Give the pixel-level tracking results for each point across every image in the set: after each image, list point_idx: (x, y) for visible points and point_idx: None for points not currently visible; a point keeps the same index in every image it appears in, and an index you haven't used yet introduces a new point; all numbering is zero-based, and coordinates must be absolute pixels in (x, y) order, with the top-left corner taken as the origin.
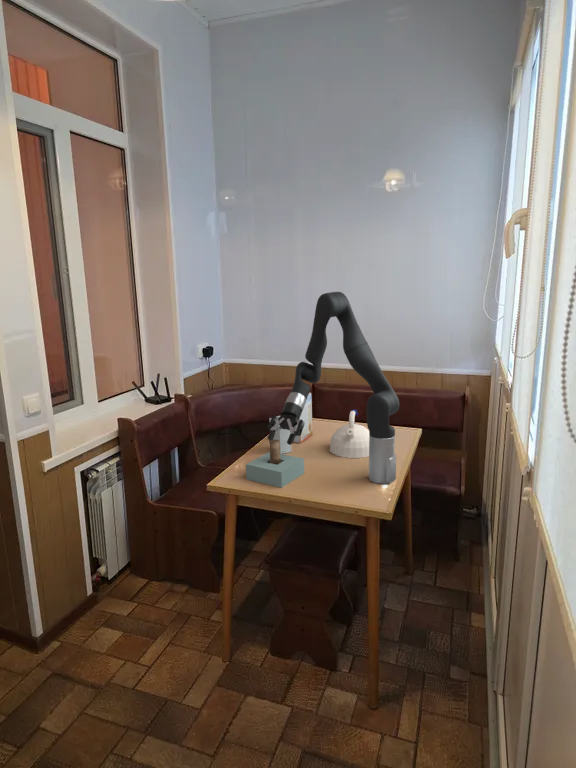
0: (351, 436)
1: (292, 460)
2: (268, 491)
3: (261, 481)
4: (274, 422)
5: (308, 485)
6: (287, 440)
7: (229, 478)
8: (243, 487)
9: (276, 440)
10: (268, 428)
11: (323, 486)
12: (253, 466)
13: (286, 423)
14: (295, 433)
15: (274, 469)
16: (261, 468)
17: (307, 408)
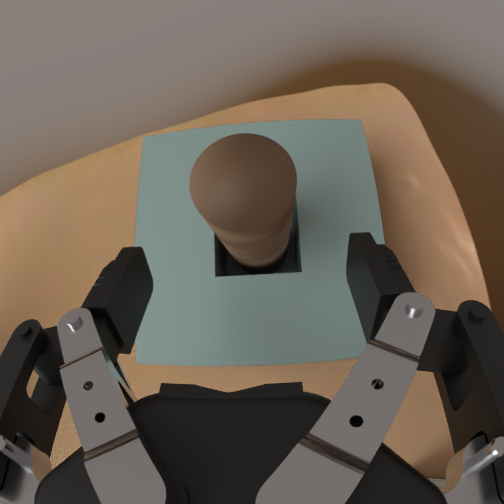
0: None
1: (173, 300)
2: (196, 122)
3: None
4: (472, 436)
5: (94, 247)
6: (133, 252)
7: (401, 136)
8: (298, 101)
9: (241, 205)
10: (463, 305)
11: (53, 269)
12: (312, 120)
13: (194, 449)
14: (56, 330)
15: (189, 140)
16: (262, 124)
17: None
